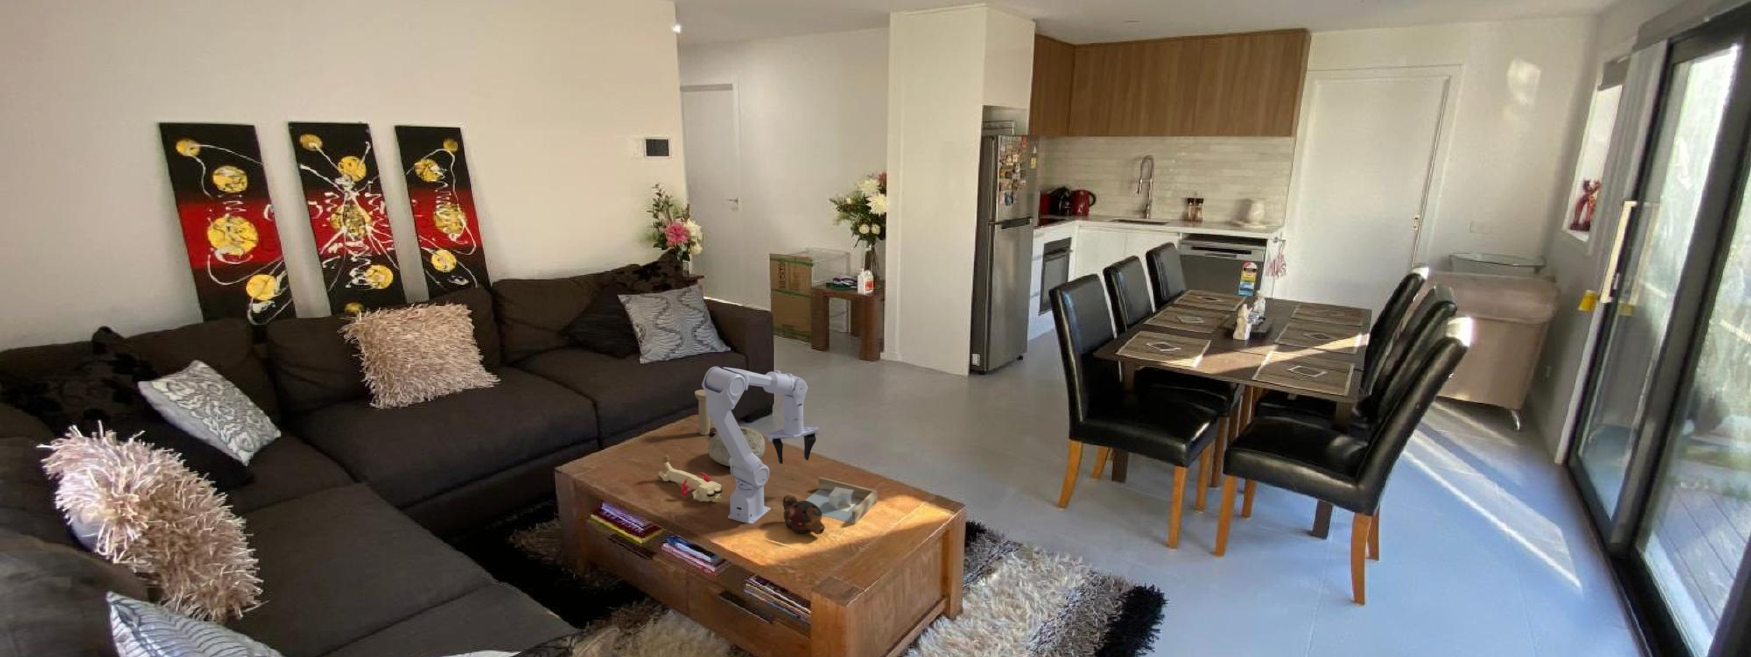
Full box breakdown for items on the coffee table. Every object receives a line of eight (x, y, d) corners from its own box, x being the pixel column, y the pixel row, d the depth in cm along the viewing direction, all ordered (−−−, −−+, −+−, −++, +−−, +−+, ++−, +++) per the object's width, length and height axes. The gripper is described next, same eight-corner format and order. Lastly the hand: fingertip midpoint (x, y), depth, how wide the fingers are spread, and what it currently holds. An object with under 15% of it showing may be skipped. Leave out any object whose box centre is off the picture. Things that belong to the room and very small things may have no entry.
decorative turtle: (794, 513, 209) (796, 486, 207) (835, 535, 200) (837, 508, 198) (768, 525, 201) (770, 498, 199) (809, 548, 193) (812, 520, 190)
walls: (855, 525, 203) (855, 512, 202) (795, 509, 211) (795, 496, 209) (877, 503, 215) (877, 490, 214) (820, 489, 223) (820, 476, 222)
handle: (704, 438, 256) (702, 396, 252) (693, 432, 260) (691, 391, 257) (716, 434, 259) (714, 393, 256) (705, 429, 264) (704, 388, 260)
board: (851, 524, 203) (851, 523, 203) (795, 509, 211) (795, 508, 210) (872, 504, 215) (872, 502, 214) (818, 490, 222) (818, 489, 222)
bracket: (835, 499, 216) (835, 487, 215) (853, 502, 214) (854, 490, 213) (828, 508, 211) (828, 495, 210) (847, 512, 209) (847, 498, 208)
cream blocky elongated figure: (652, 487, 225) (704, 508, 209) (648, 459, 223) (701, 479, 207) (679, 476, 232) (732, 495, 216) (676, 449, 230) (730, 467, 214)
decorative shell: (698, 467, 235) (696, 437, 232) (725, 445, 251) (724, 417, 249) (750, 476, 230) (749, 446, 227) (774, 453, 246) (774, 424, 244)
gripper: (771, 424, 208) (772, 469, 212) (821, 418, 213) (821, 462, 217) (765, 415, 215) (766, 459, 218) (814, 409, 220) (814, 453, 223)
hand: (793, 460), depth 218 cm, fingers open, 7 cm apart
